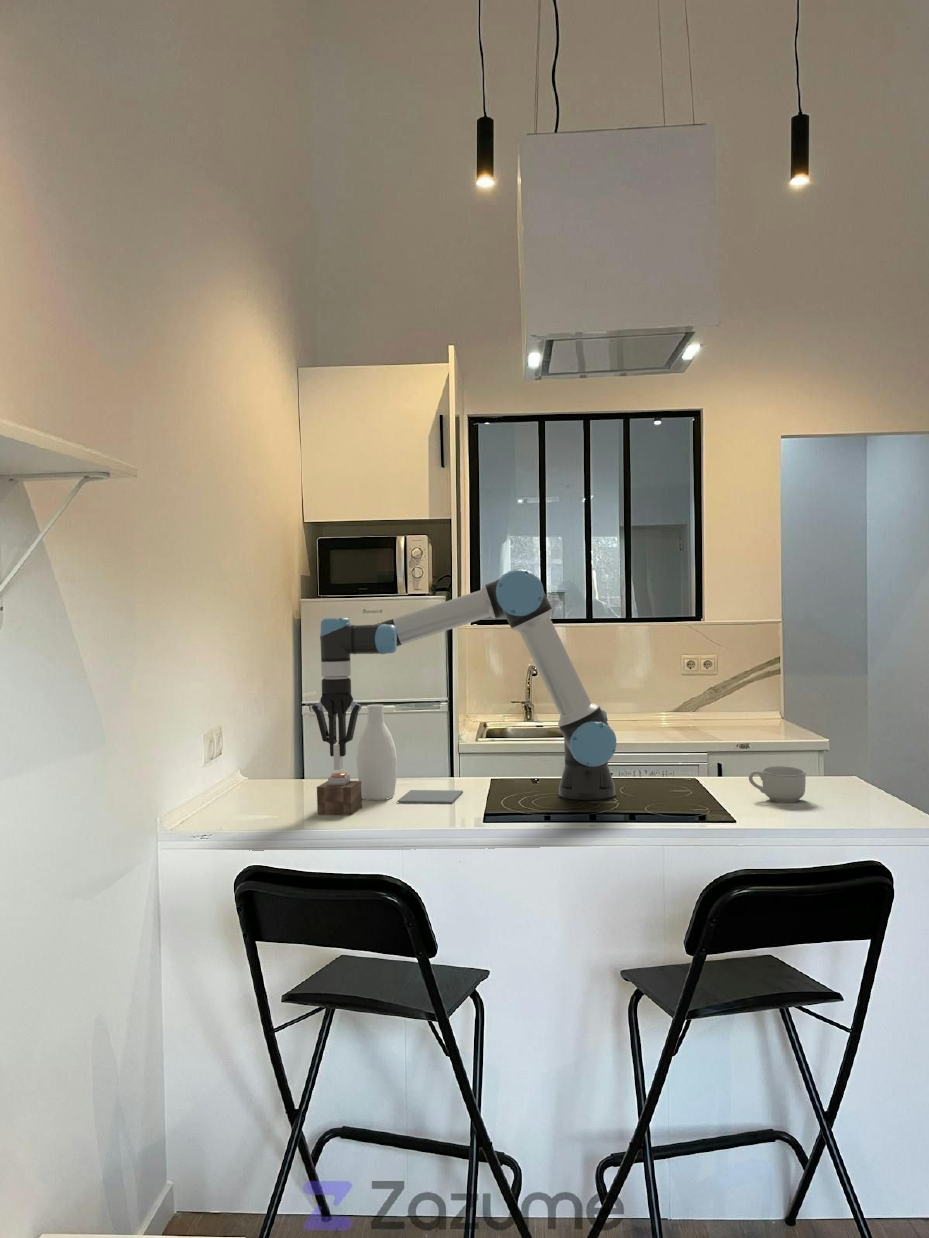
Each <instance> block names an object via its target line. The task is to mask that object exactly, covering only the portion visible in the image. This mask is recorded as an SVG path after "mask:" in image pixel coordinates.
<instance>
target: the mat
mask: <svg viewBox="0 0 929 1238" xmlns="http://www.w3.org/2000/svg"><path fill="white" fill-rule="evenodd" d="M463 793H464V790H456V789H455V790H451V789H450V790H447V789H445V790H444V789H443V790H442V789H440V790H439V789H438V790H437V789H436V790H435V789H434V790H432V789H410V790H408V791H407V792H406V793H405V794H404V795H402V797H400V798H398V800H396V803H397V802H399V803H398V804H431V805H432V804H435V805H436V804H439V805H440V804H443V805H447V804H448V805H449V804H450V805H453V804H454V803H455V801H457V800H458V799H459V798H460V796H462V794H463Z"/></svg>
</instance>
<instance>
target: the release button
mask: <svg viewBox="0 0 929 1238" xmlns="http://www.w3.org/2000/svg"><path fill="white" fill-rule="evenodd" d="M327 779H328V780H327V781H328V786H346V785H348V784H349V783H350V781H351V775H350V774H347V772H333V773H331V774H330V776H328V778H327Z"/></svg>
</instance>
